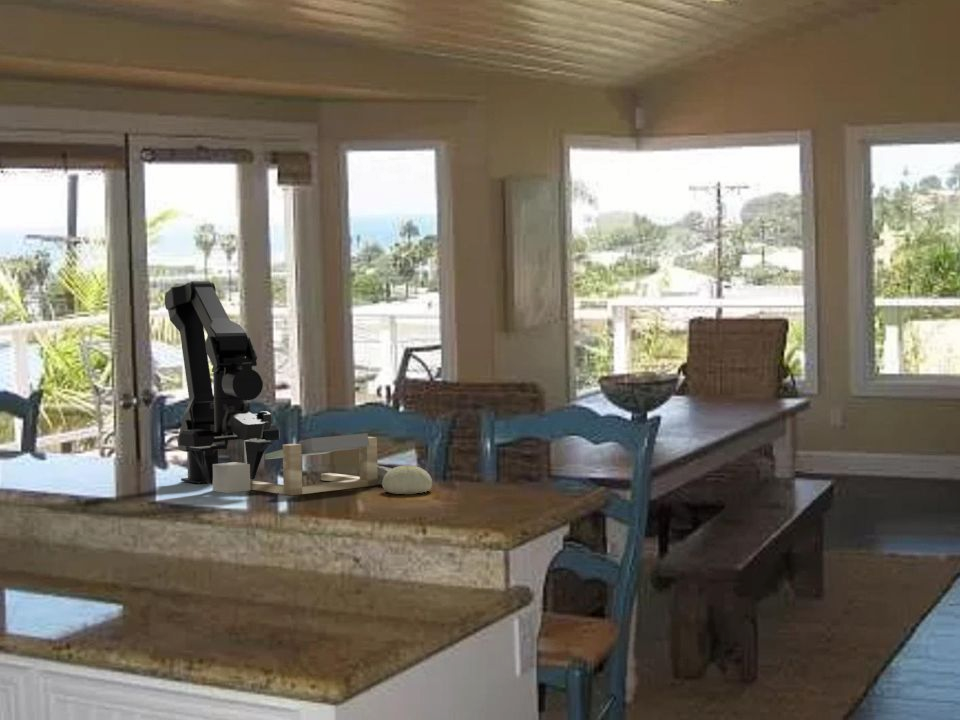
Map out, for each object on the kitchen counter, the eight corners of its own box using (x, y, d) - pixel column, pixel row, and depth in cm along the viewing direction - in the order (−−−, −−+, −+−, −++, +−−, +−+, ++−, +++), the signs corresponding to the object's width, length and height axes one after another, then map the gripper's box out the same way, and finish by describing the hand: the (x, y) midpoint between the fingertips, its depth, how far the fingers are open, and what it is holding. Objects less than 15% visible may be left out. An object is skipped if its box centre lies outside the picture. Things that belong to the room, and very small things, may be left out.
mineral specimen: (392, 485, 301) (391, 463, 301) (425, 486, 291) (424, 463, 291) (363, 487, 297) (362, 464, 297) (395, 488, 287) (395, 465, 287)
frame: (245, 488, 290) (244, 440, 290) (330, 478, 304) (329, 433, 303) (291, 495, 279) (290, 445, 279) (377, 485, 293) (376, 437, 292)
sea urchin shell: (441, 479, 285) (430, 451, 280) (431, 513, 280) (419, 486, 275) (395, 477, 288) (383, 450, 283) (384, 511, 283) (372, 484, 278)
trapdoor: (265, 463, 290) (263, 450, 290) (325, 457, 300) (324, 444, 300) (310, 451, 280) (308, 438, 280) (371, 445, 289) (369, 432, 289)
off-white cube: (212, 491, 288) (212, 464, 288) (235, 488, 292) (234, 461, 291) (227, 493, 285) (226, 466, 284) (250, 490, 288) (249, 463, 288)
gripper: (209, 402, 275) (211, 490, 276) (296, 396, 288) (297, 480, 289) (176, 400, 284) (178, 485, 284) (261, 394, 296) (263, 475, 297)
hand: (231, 481), depth 288 cm, fingers open, 9 cm apart
